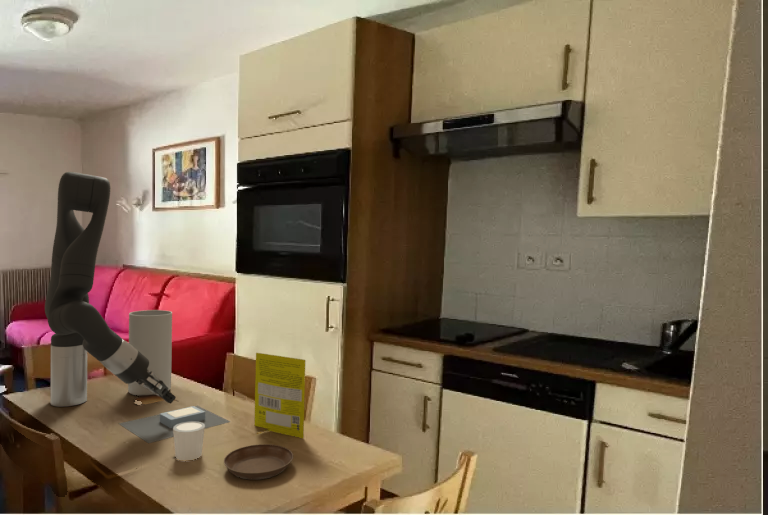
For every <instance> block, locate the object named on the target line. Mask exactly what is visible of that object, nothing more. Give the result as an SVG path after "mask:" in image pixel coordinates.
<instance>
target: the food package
mask: <svg viewBox="0 0 768 515" xmlns="http://www.w3.org/2000/svg"><path fill="white" fill-rule="evenodd" d="M254 382H255V384H254V387H255V388H254V423H253V424H254V427H259V428H263V429H265V431H268V432H271V431H272V433H276V434H280V433H281V435H285V436H291V437H294V436H295V438H298V437H299V438H298V439H304V431H305V430H304V427H305V396H306V395H305V391H306V390H305V388H306V384H305V383H306V359H302V358H296V357H288V356H281V355H275V354H268V353H261V352H256V353H255V381H254Z"/></svg>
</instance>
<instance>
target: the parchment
mask: <svg viewBox="0 0 768 515" xmlns="http://www.w3.org/2000/svg"><path fill="white" fill-rule="evenodd" d="M137 397H138V396H137ZM135 398H136V397H135ZM135 398H134V399H135ZM135 400H137V401H141V402H142V404H145V405H149V404H155V403H158V402H159V403H160V402H164V401H165V400H164V399H162V398H161V397H160V396H158V395H157V394H154V395H142V396H139V397H138V398H136V399H135ZM175 401H176V402H178V400H177V399H176V398H175V399H174V401H173V402H175Z"/></svg>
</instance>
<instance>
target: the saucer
mask: <svg viewBox="0 0 768 515" xmlns="http://www.w3.org/2000/svg"><path fill="white" fill-rule="evenodd" d="M293 459H294V453H293V452H292V450H290V449H289V448H287V447H285V446H282V445H278V444H277V445H276V444H270V443H268V444H267V443H263V444H262V443H261V444H253V445H245V446H243V447H239V448H237V449H234V450H232V451H230V452H229V453H227V455H225V457H224V458H223V464H224V466H225V468H226V469H227V470H228V471H229V472H230V473H231V474H233V476H234V475H235V477H237V478H239V477H240V479H243V480H250V481H251V480H253V481H256V480H257V481H258V480H265V479H270V478H273V477H275V476H278V475H279V474H281V473H282V472H284V471H285V470H286V469H287V468H288V467H289V466H290V464H291V463H292V461H293Z"/></svg>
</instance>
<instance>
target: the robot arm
mask: <svg viewBox="0 0 768 515" xmlns="http://www.w3.org/2000/svg"><path fill="white" fill-rule="evenodd" d="M110 198H111V182H110V181H109V179H108V178H106V177H102V176H100V175H99V176H97V175H93V174H87V173H83V172H82V173H81V172H76V171H75V172H74V171H66V172H64V173H63V174H62V175H61V178H60V180H59V182H58V189H57V211H56V212H57V214H56V225H55V227H56V228H55V233H54V239H53V244H52V251H51V253H52V254H51V266H50V277H49V284H48V286H47V292H46V296H45V301H44V313H45V316H46V318H47V324H48V326H49V328H50V330H51V332H52V333H54V334H52V335H51V337H50V405H51V406H54V407H71V406H72V407H73V406H77V405H81V404H83V403H85V402H87V400H88V354H89V355H91V357H93V358H95V359H96V360H97V361H98V362H99V363H101V365H102V366H103V367H104V368H105V369H107V370H108V371H109V372H110V373H111V374H112V375H114V376H116V377H117V378H118V379H119V380H120V381H122V382H123V383H124V384H127V385H128V384H130V383H133V382H136V383H137V384H139V385H141V386H143V387H144V388H145V389H147V390H148V391H150V392H152V393H155V394H157V395H158V396H160V397H161V398H162V399H164V401H165V402H166V403H167V404H172V403H174V402H175V401H174V399H175V400H176V396H175V394H173V393H172V392H171V391H170V390H169V391H168V387H167V386H166V385H165V384H164V383H163V381H162V380H160V379H159V378H157V377H156V374H154V373H153V372H152V371H149V370H147V369H148V367H149V360H148V359H147V358H146V357H145V356H144V355H143V354H141V353H140V352H139V351H138V350H137V349H136V348H134V347H133V346H132V345H131V344H130V343H129V341H127V340H126V339H123V337H121V336H120V335H118V333H116V332H115V331H113V329H111V328H110V327H109V325H108V324H107V322H106V321H105V319H104V317H103V316H102V315H101V313H100V312H99V310H98V309H97V308H96V307H95V306H93V305H92V304H91V303H90V297H89V293H90V292H91V291H92V289H93V286H94V280H95V270H96V263H97V262H96V261H97V256H98V252H99V246H100V243H101V240H102V236H103V231H104V227H105V224H106V220H107V214H108V210H109V206H110V205H109V204H110ZM74 211H75V212H77V211H78V212H85V213H92V215H91V219H90V221H89V223H88V224H87V226H86V227H85V228H84V227H83V226H82V225H81V223H80V222H79V221H78V219H77V217H76V215H75V212H74Z"/></svg>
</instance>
